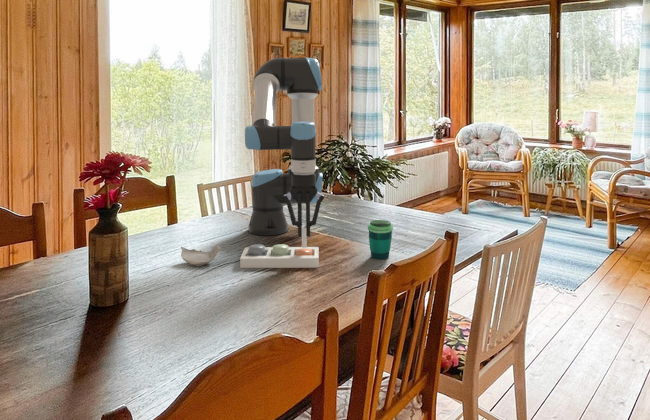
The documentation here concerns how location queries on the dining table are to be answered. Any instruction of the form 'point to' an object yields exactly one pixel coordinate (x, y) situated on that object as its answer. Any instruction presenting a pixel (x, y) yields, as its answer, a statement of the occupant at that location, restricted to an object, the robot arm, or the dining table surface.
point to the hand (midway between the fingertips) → (304, 246)
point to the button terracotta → (304, 252)
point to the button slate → (257, 250)
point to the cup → (380, 238)
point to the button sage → (280, 250)
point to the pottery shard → (198, 256)
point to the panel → (280, 259)
